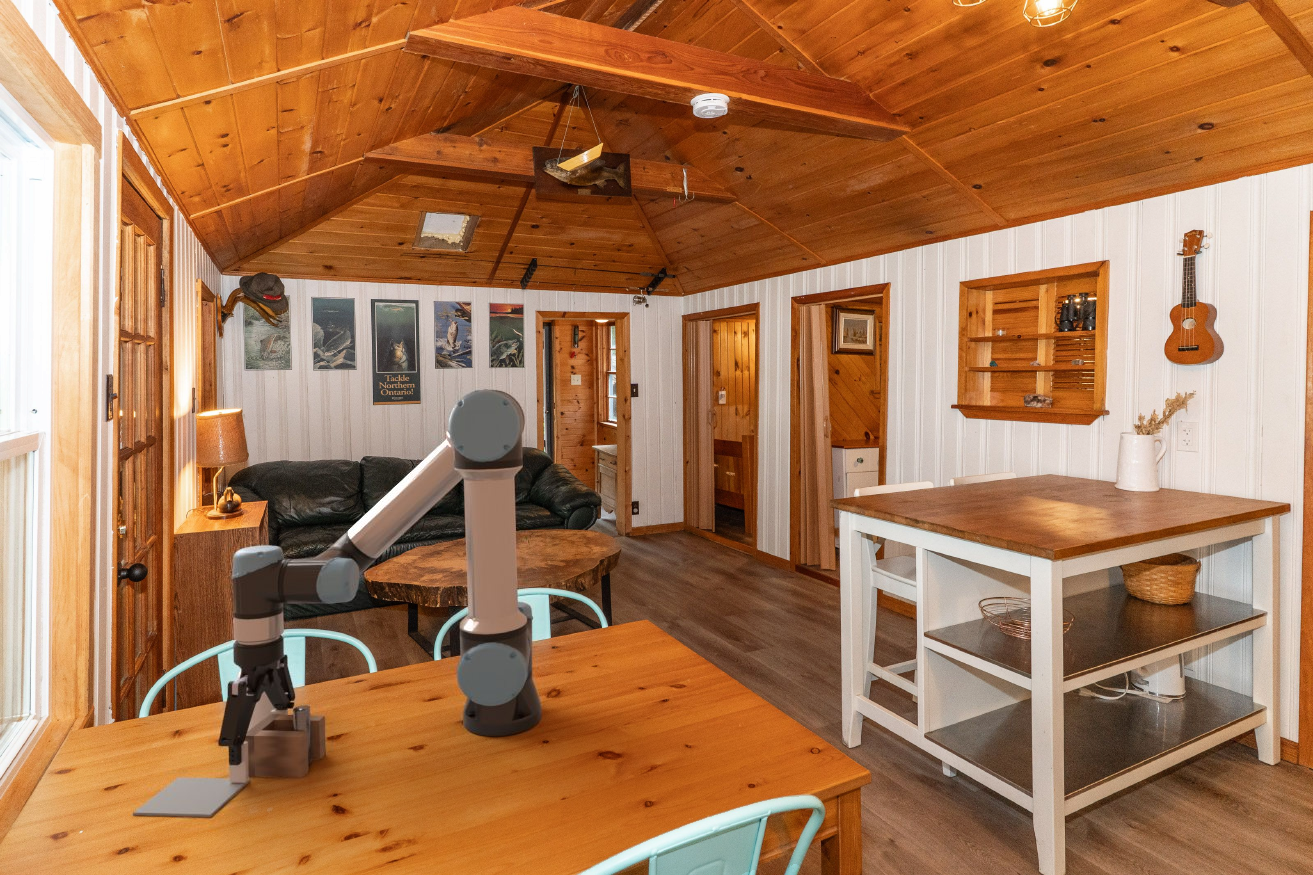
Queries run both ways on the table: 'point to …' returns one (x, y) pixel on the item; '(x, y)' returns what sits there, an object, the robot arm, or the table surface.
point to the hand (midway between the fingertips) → (260, 762)
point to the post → (303, 724)
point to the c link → (283, 746)
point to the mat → (191, 797)
